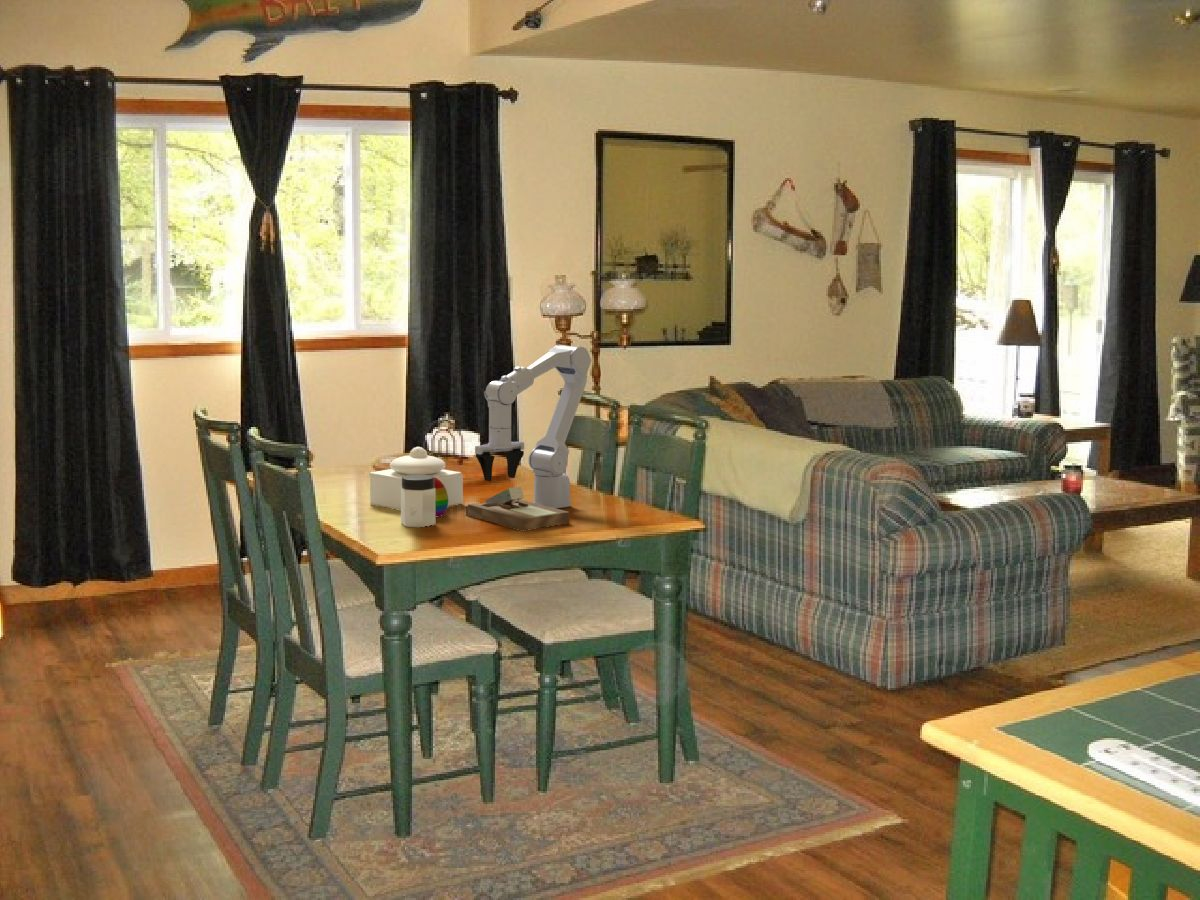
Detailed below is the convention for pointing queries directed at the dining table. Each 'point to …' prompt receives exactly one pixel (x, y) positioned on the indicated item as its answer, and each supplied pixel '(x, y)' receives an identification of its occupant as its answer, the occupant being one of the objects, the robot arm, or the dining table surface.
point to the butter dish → (417, 462)
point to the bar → (505, 497)
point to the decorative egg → (440, 497)
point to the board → (517, 515)
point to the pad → (533, 511)
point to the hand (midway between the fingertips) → (499, 479)
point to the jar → (418, 501)
